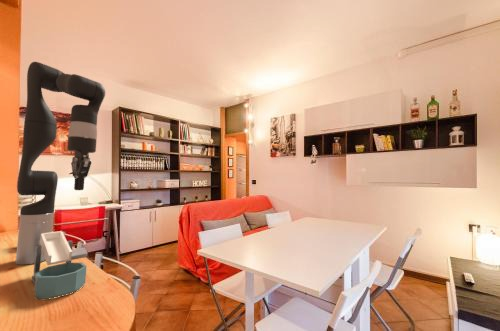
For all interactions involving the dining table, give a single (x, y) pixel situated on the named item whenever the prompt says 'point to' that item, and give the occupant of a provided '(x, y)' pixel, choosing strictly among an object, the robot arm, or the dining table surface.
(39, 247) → the lever stand
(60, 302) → the dining table surface
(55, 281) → the teal octagonal bowl
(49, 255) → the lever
